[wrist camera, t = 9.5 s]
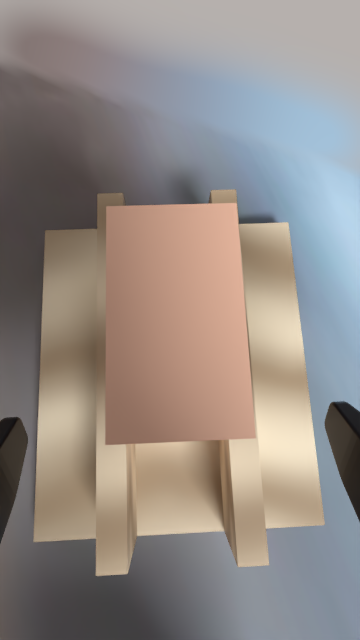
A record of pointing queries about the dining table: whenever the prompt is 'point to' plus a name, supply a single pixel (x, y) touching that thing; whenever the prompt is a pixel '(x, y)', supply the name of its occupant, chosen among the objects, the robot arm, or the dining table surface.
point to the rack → (170, 457)
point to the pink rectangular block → (175, 326)
